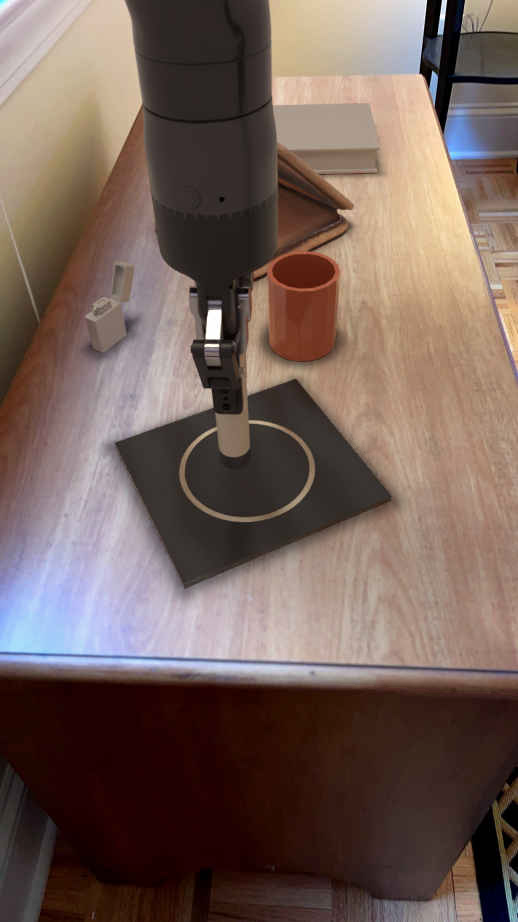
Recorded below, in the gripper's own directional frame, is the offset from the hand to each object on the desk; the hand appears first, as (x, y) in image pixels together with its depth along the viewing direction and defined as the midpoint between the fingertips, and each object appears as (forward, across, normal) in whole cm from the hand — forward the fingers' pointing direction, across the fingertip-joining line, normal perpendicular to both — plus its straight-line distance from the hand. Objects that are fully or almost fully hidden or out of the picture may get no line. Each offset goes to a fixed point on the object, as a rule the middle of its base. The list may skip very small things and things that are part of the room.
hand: (230, 396), depth 53 cm
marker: (+7, 0, 0) cm, 7 cm away
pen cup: (+12, +23, -5) cm, 27 cm away
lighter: (+13, +24, +16) cm, 31 cm away
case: (+13, +48, +2) cm, 49 cm away
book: (+13, +73, -3) cm, 74 cm away
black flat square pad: (+12, +3, 0) cm, 13 cm away
